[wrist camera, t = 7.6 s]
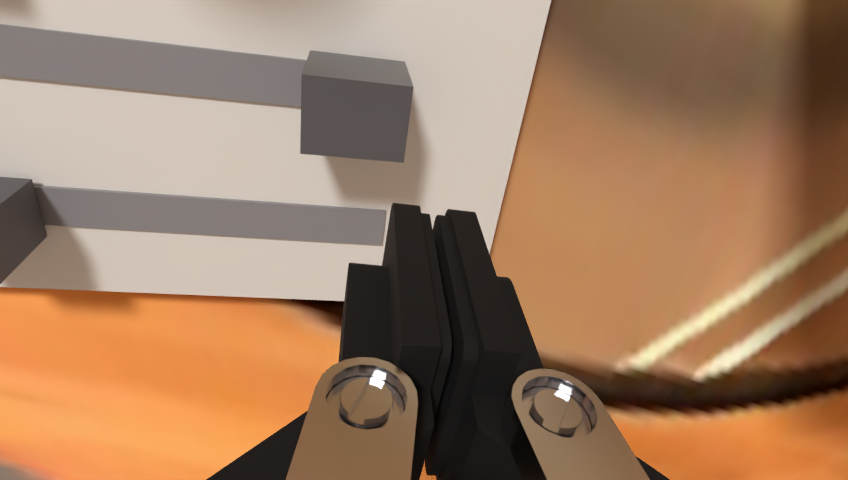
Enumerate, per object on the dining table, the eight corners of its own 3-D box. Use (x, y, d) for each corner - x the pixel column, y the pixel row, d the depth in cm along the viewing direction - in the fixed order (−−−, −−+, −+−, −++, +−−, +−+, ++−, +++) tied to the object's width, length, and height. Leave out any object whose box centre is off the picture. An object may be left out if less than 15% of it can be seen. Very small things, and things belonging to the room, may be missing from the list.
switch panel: (585, -214, 20) (670, -264, 14) (470, 286, 32) (493, 360, 27) (-470, -449, 15) (-959, -667, 9) (-127, 257, 27) (-249, 342, 21)
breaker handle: (404, 61, 22) (413, 86, 19) (397, 128, 24) (403, 162, 20) (310, 50, 22) (301, 74, 18) (308, 119, 23) (300, 153, 20)
